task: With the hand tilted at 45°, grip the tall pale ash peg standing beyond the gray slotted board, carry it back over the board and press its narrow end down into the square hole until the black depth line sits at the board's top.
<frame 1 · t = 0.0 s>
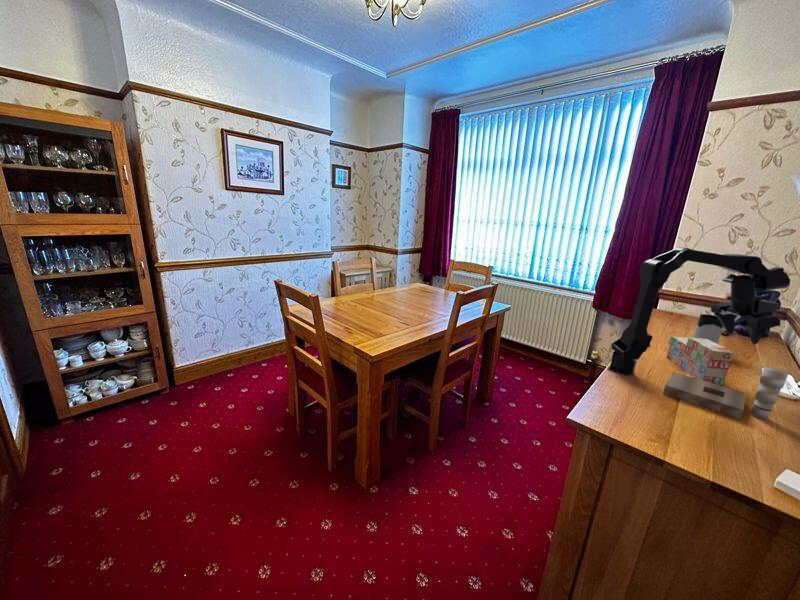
hand: (742, 338, 108), 15 cm above the table, tool pointing down, fingers open, 9 cm apart
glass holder: (700, 348, 141), on the table
stack of blocks: (691, 371, 118), on the table
gray slotted board: (702, 397, 100), on the table
ash peg: (759, 416, 91), on the table
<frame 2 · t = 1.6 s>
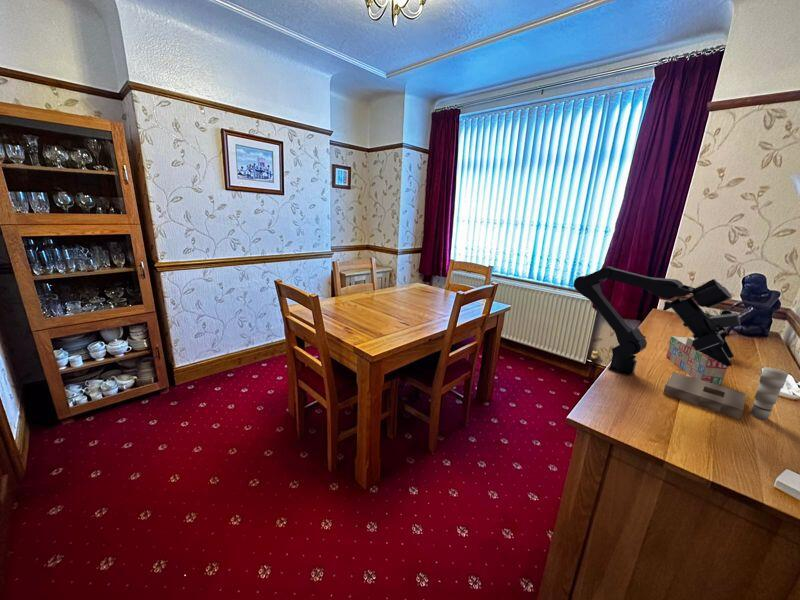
hand: (730, 361, 94), 13 cm above the table, tool tilted 45°, fingers open, 9 cm apart
nothing on the table moved.
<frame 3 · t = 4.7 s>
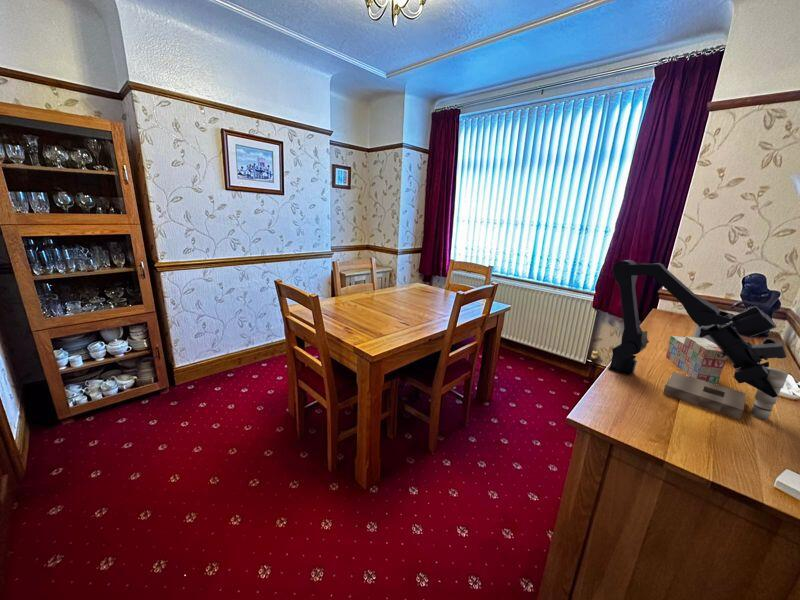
hand: (775, 394, 88), 8 cm above the table, tool tilted 45°, fingers closed on ash peg, 4 cm apart
ash peg: (759, 416, 91), on the table, touching gripper
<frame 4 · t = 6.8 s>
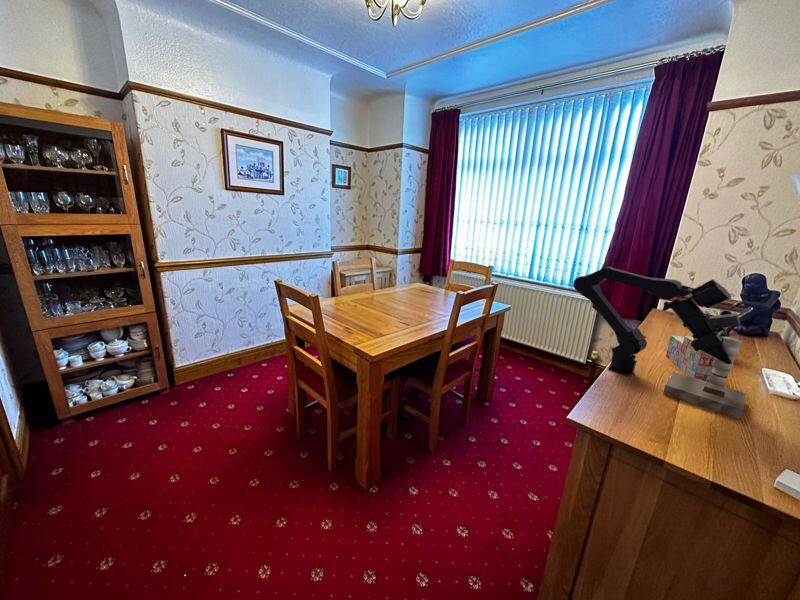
hand: (730, 361, 94), 13 cm above the table, tool tilted 45°, fingers closed on ash peg, 4 cm apart
ash peg: (716, 383, 97), point 6 cm above the table, touching gripper
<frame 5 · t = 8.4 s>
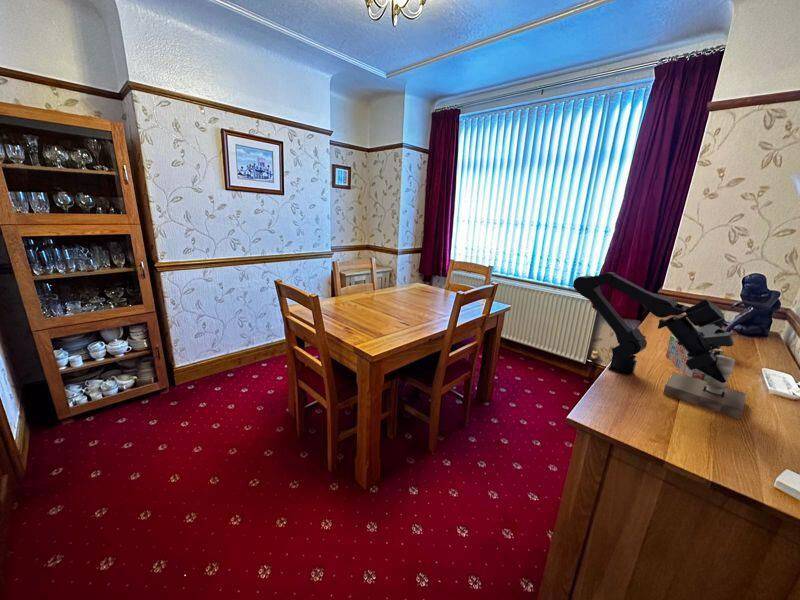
hand: (725, 380, 95), 8 cm above the table, tool tilted 45°, fingers closed on ash peg, 4 cm apart
ash peg: (710, 400, 98), resting in gray slotted board, touching gripper
when the fingers open (8 cm above the table, at t = 9.3 s): ash peg stays where it is, resting in gray slotted board.
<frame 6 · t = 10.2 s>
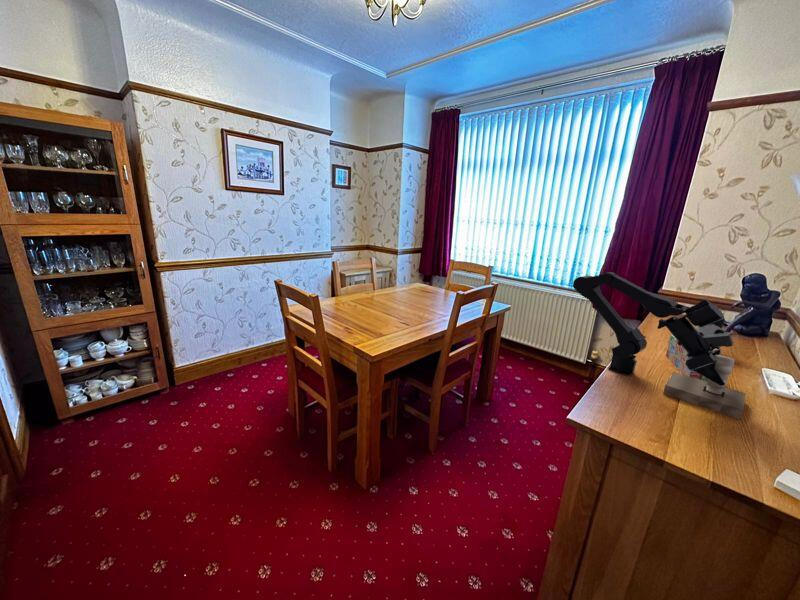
hand: (724, 380, 95), 7 cm above the table, tool tilted 45°, fingers open, 9 cm apart
ash peg: (710, 400, 98), resting in gray slotted board
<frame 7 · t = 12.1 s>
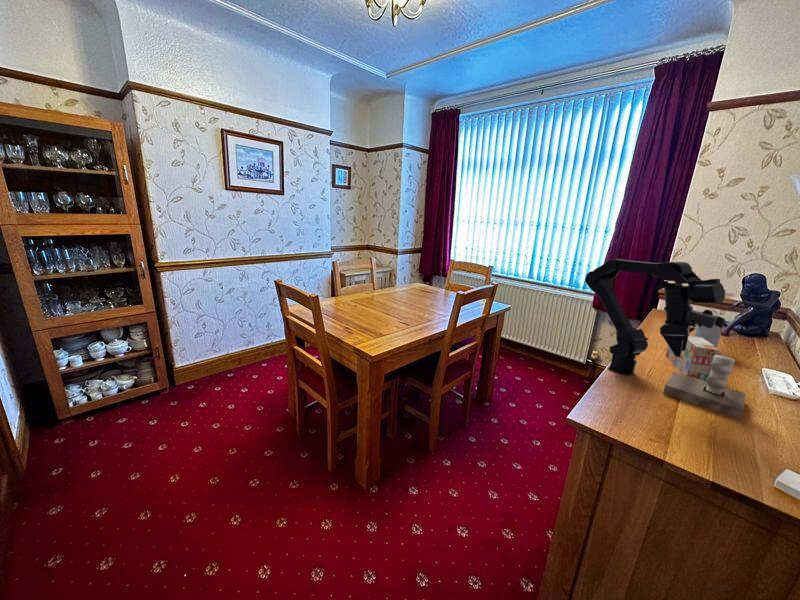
hand: (680, 353, 99), 13 cm above the table, tool pointing down, fingers open, 9 cm apart
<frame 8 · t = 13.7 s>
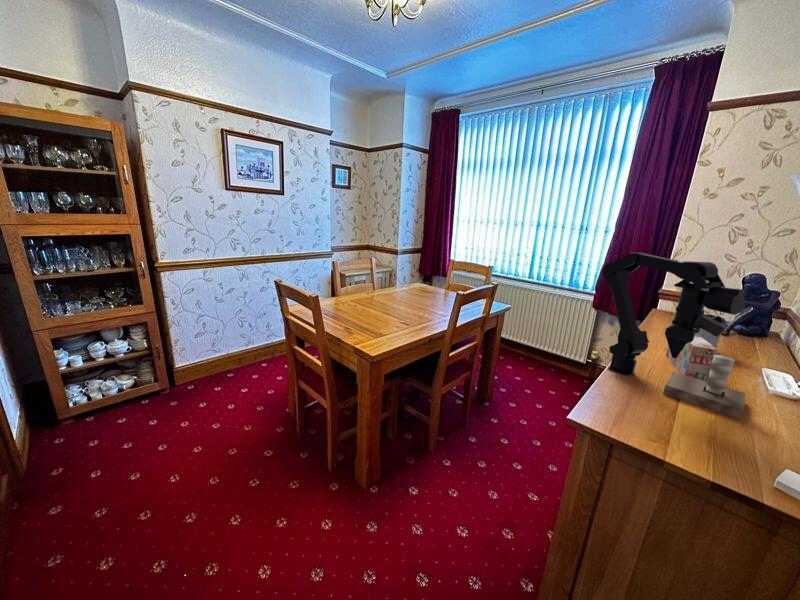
hand: (677, 354, 99), 13 cm above the table, tool pointing down, fingers open, 9 cm apart
at the end: ash peg 0.0 cm from the target spot on the gray slotted board, point 0.0 cm above the gray slotted board's base; ash peg tilted 0°; the gripper is holding nothing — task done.
